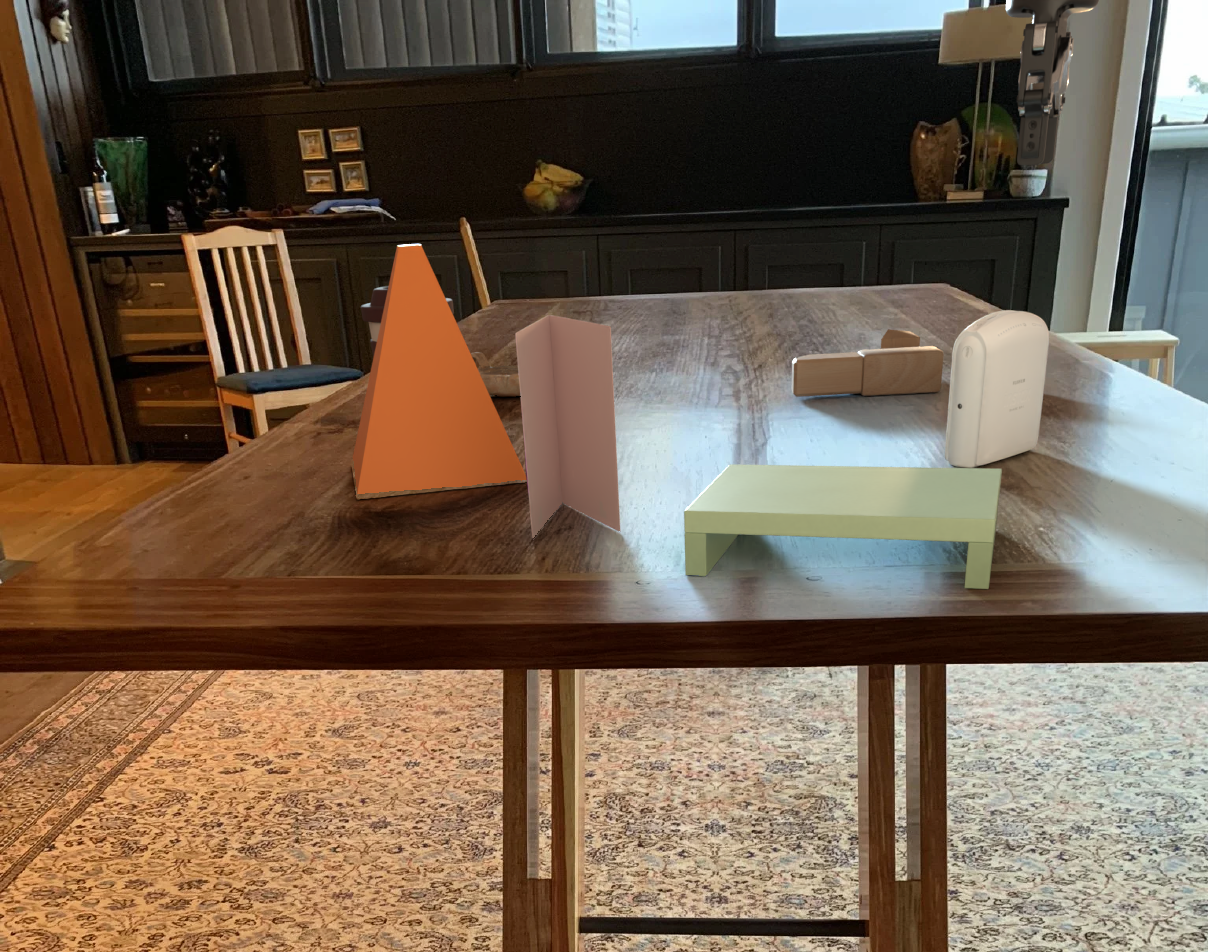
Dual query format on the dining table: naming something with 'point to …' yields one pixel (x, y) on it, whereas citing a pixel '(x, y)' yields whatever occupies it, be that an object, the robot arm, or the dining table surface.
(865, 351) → the wooden block set
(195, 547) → the dining table surface
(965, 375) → the photo printer
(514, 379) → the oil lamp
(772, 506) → the shelf
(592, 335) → the greeting card
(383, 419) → the pyramid
